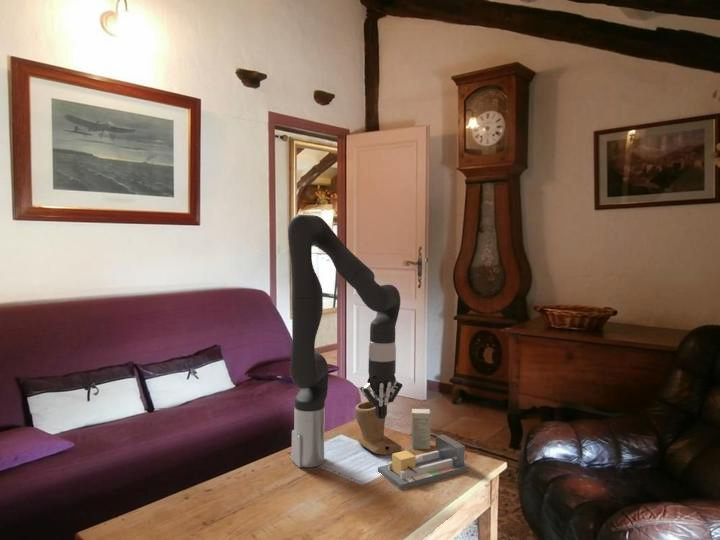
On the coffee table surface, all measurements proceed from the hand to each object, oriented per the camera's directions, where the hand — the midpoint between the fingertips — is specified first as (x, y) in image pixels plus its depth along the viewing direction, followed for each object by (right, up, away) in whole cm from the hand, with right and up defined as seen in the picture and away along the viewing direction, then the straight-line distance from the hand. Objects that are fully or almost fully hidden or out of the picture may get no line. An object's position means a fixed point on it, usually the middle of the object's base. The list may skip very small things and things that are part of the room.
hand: (381, 417), depth 146 cm
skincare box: (+14, -17, +27) cm, 35 cm away
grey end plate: (+21, -17, +14) cm, 30 cm away
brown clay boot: (-1, -17, +25) cm, 31 cm away
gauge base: (+13, -19, +9) cm, 24 cm away
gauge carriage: (+9, -17, +5) cm, 20 cm away
